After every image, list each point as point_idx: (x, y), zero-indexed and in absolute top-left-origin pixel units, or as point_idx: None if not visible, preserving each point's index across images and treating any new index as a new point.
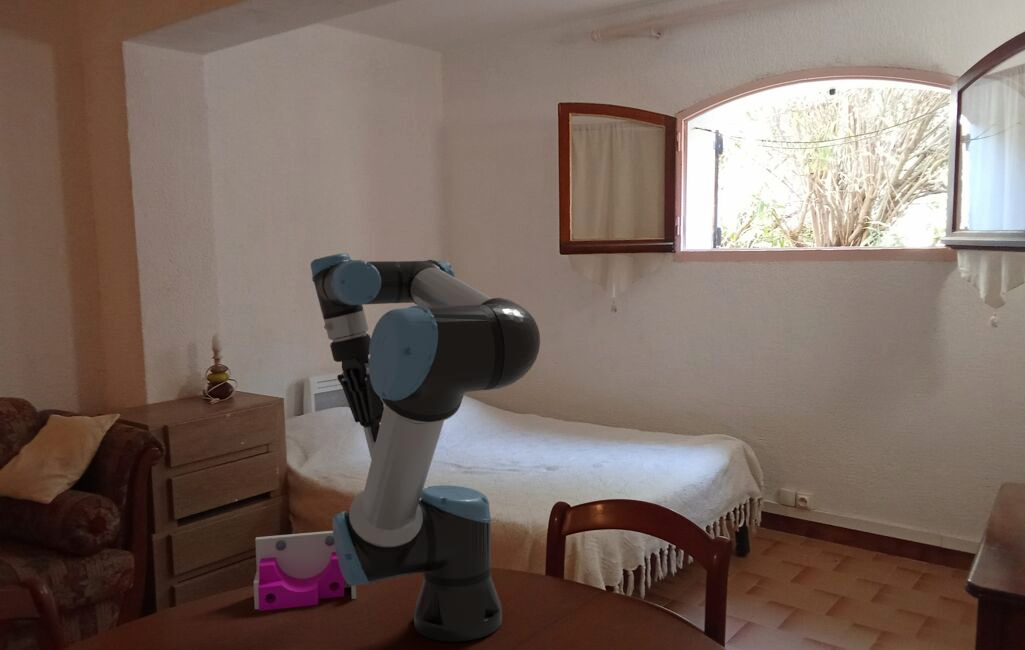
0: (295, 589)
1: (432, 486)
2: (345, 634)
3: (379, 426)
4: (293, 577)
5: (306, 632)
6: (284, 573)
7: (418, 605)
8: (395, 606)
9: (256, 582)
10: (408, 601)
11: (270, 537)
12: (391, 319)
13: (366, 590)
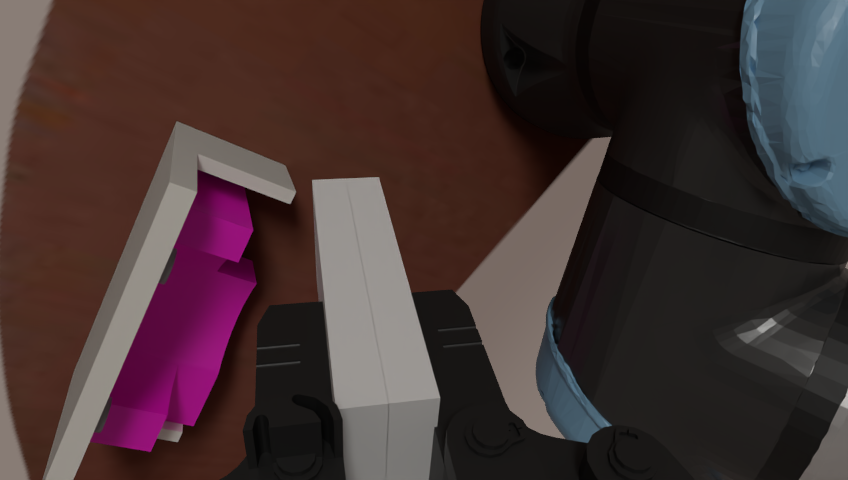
0: (217, 329)
1: (826, 141)
2: (447, 261)
3: (500, 399)
4: None
5: None
6: None
7: (573, 133)
8: (402, 100)
9: (180, 435)
10: (399, 53)
11: (72, 460)
12: None
13: (246, 114)
